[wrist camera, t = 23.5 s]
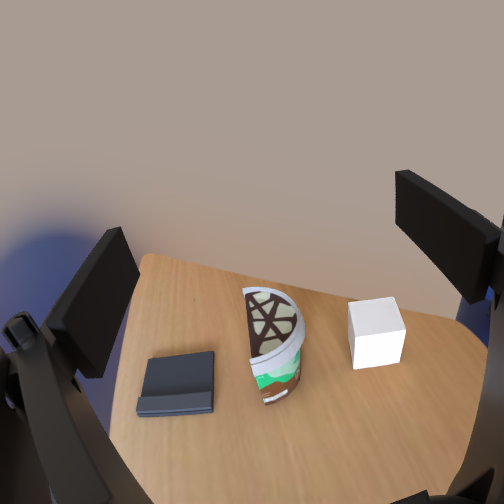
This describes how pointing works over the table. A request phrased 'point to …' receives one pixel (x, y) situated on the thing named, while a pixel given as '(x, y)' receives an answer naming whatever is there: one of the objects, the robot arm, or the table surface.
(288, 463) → the table surface
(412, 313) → the table surface
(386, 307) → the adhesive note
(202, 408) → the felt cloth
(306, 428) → the table surface
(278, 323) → the food container
